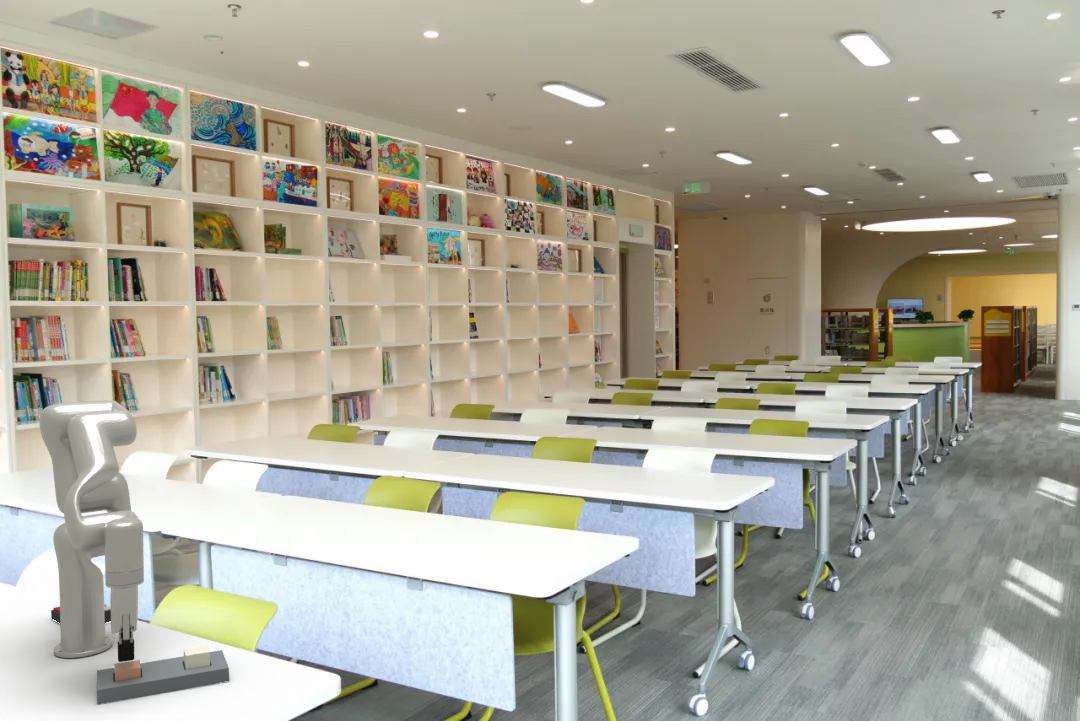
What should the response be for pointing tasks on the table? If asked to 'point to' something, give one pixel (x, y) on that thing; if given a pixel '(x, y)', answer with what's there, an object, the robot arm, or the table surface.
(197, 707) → the table surface
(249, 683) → the table surface
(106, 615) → the calculator
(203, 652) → the cream key
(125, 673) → the terracotta key
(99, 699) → the key panel
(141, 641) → the table surface
